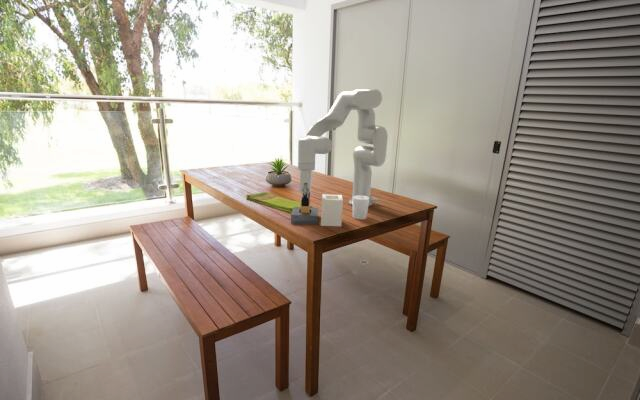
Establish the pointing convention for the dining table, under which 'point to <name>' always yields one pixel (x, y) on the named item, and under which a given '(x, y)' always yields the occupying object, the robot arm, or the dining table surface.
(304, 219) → the lower socket plate
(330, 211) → the upper stand
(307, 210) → the plug
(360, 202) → the white cup
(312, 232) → the dining table surface
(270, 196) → the dish towel
